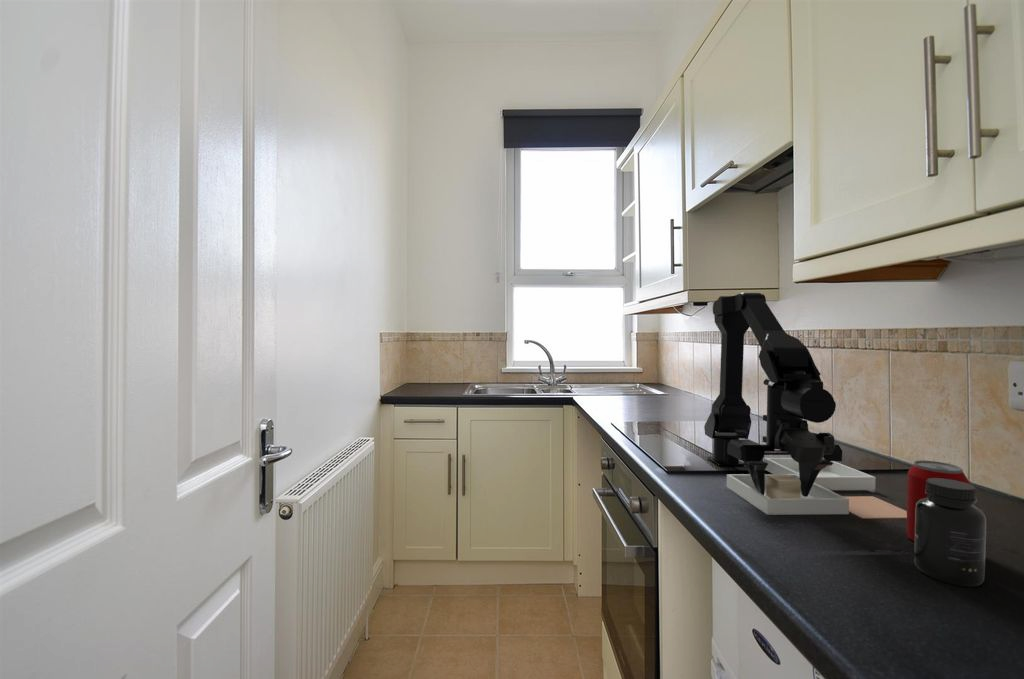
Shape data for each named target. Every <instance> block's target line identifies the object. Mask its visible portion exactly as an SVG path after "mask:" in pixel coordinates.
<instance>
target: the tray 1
mask: <svg viewBox="0 0 1024 679" xmlns="http://www.w3.org/2000/svg"><path fill="white" fill-rule="evenodd" d="M767 475H789V476H791V477H793V478H795V479H797V480H799V481H800V476H799V475H797V474H772V473H768V474H767V473H765V492H764V495H762V494H761V493H759V492H757V490H756V487H755V485H754V483H753V480H752V478H751V476H750V473H747V474H746V473H745V474H744V473H740V474H739V473H738V474H736V473H735V474H734V473H733V474H730V473H729V474H726V488H727V489H729V490H731V491H732V492H733V493H735V494H736V495H738V496H739V497H741V498H742V499H744V500H745V501H746V502H748V503H749V504H751V505H752V506H754V507H755V508H757V509H758V510H760V511H761V512H763V513H764V514H765V515H769V516H771V515H772V516H776V515H777V516H780V515H781V516H786V515H791V516H793V515H795V516H797V515H798V516H799V515H800V516H801V515H802V516H803V515H806V516H807V515H810V516H811V515H850V512H849V499H847V498H845V497H846V496H843V495H840V494H838V493H836V492H835V491H834V490H828V489H826V488H824V487H822V486H820V485H818V484H816V483H813V486H812V488H811V490H810V492H809V494H808V496H807V497H805V496H803V495H802V493H801V498H789V499H771V498H769V497H768V496H766V478H767Z"/></svg>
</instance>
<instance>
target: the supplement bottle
mask: <svg viewBox="0 0 1024 679" xmlns="http://www.w3.org/2000/svg"><path fill="white" fill-rule="evenodd" d="M925 494H926V495H928V497H925V498H922V499H920V500H919V501H918V502H917V503H916V508H915V542H914V543H913V544H914V546H913V548H914V550H913V552H914V553H913V554H914V556H913V558H914V559H913V560H914V565H915V567H916V568H917V569H918V570H919V571H920V572H921V573H924V575H926V576H928V577H931V578H932V579H936V580H937V581H939V582H940V581H941V582H944V583H947V584H950V585H951V584H952V585H956V586H960V587H961V586H962V587H977V586H980V585H982V584H983V583H984V581H985V573H986V544H987V540H986V539H987V517H986V515H985V513H984V512H983V511H982V510H981V509H979V508H978V507H977V506H975V505H974V504H976V503H977V501H978V498H977V489H976V487H975V486H974V485H972V484H970V483H969V484H967V483H964V482H960V481H955V480H950V479H942V478H929V479H927V480H926V489H925Z"/></svg>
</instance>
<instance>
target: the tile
mask: <svg viewBox="0 0 1024 679" xmlns="http://www.w3.org/2000/svg"><path fill="white" fill-rule="evenodd" d="M844 497H845V498H847V499H849V513H851V514H852V515H855V516H856V517H859V518H860V519H862V520H863V519H865V520H866V519H867V520H869V519H871V520H873V519H877V520H878V519H879V520H881V519H907V510H905V509H903V508H901V507H898V506H896V505H893V504H891V503H890V502H888V501H884V500H882V499H880V498H878V497H875V496H871V495H870V496H861V495H860V496H852V495H851V496H844Z"/></svg>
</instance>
